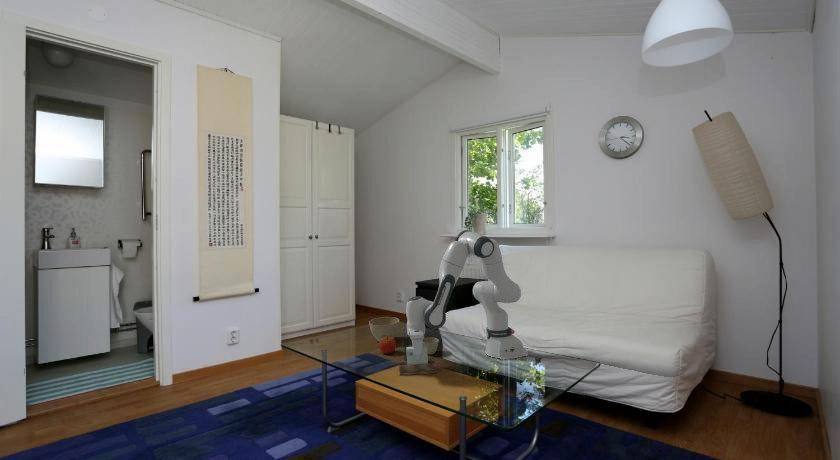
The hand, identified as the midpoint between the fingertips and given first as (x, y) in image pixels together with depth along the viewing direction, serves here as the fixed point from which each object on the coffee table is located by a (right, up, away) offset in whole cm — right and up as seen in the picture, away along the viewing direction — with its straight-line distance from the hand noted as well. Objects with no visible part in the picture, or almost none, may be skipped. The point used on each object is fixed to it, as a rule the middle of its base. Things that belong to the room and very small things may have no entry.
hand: (417, 357), depth 217 cm
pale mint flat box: (0, -3, 0) cm, 3 cm away
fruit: (-16, -6, +29) cm, 34 cm away
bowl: (+7, -5, +25) cm, 27 cm away
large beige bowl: (-20, -4, +50) cm, 54 cm away
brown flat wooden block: (0, -7, +1) cm, 7 cm away
